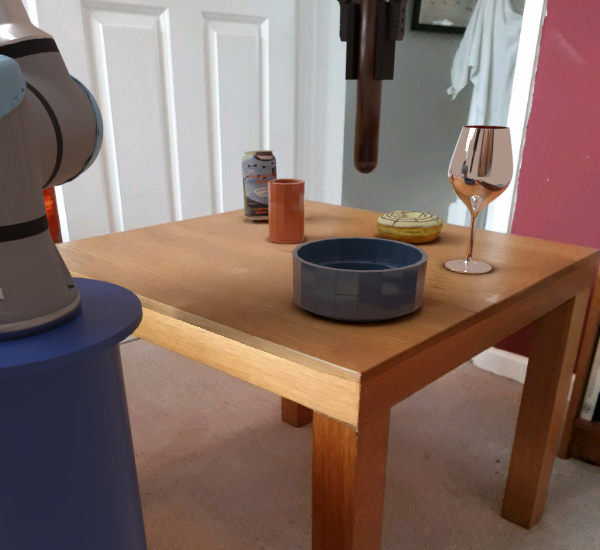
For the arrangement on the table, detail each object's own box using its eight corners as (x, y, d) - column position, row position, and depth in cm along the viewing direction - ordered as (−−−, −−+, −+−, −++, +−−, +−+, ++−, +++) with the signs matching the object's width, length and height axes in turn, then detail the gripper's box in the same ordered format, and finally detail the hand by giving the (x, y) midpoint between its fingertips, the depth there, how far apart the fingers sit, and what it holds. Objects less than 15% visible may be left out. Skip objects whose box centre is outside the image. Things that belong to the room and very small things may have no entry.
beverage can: (251, 225, 111) (249, 152, 105) (237, 217, 117) (235, 148, 111) (284, 222, 113) (284, 150, 108) (269, 214, 119) (268, 146, 114)
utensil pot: (262, 240, 101) (260, 182, 97) (281, 233, 105) (281, 177, 101) (291, 245, 99) (291, 185, 94) (310, 238, 103) (311, 180, 99)
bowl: (266, 310, 72) (265, 258, 69) (331, 277, 84) (333, 231, 81) (388, 336, 65) (393, 280, 62) (441, 297, 76) (447, 247, 74)
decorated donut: (428, 229, 109) (431, 207, 107) (450, 244, 100) (453, 220, 98) (369, 230, 108) (371, 208, 106) (385, 246, 98) (387, 221, 97)
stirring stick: (348, 174, 67) (356, -37, 59) (359, 171, 69) (368, -34, 61) (370, 176, 66) (381, -39, 57) (381, 173, 68) (393, -36, 59)
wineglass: (467, 279, 83) (487, 130, 75) (425, 264, 89) (439, 125, 81) (510, 270, 87) (534, 128, 79) (467, 256, 93) (484, 123, 85)
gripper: (490, -243, 52) (457, 80, 63) (324, -204, 59) (320, 78, 70) (459, -281, 46) (429, 81, 57) (280, -233, 53) (283, 79, 64)
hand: (369, 79), depth 63 cm, fingers closed on stirring stick, 3 cm apart
